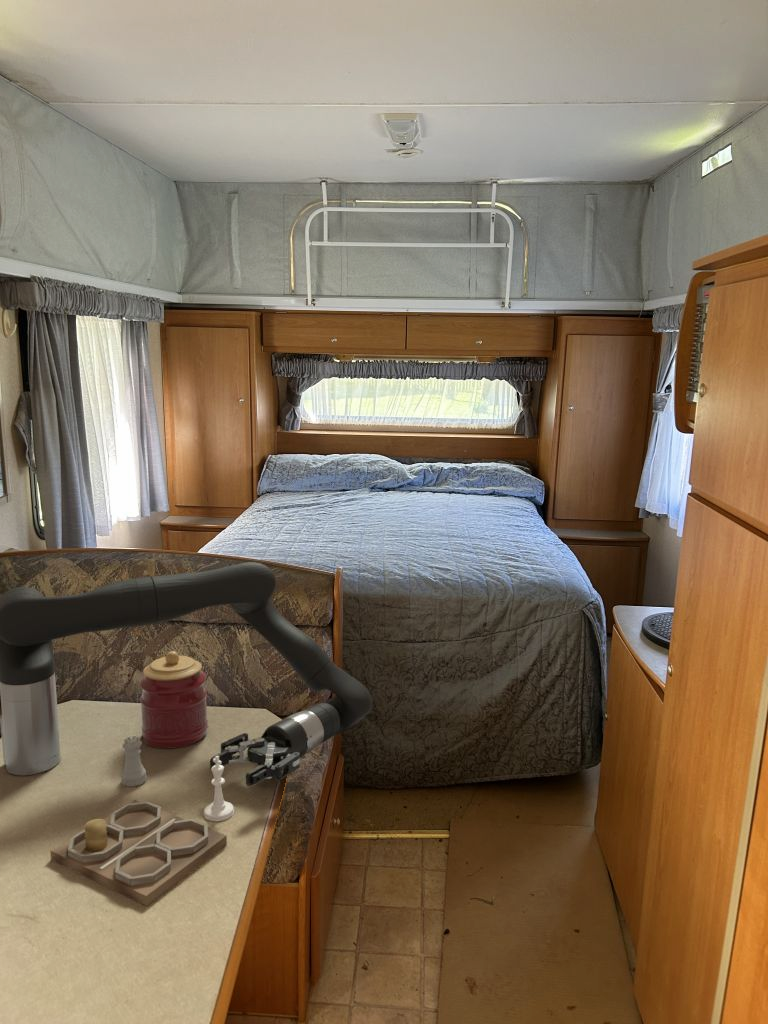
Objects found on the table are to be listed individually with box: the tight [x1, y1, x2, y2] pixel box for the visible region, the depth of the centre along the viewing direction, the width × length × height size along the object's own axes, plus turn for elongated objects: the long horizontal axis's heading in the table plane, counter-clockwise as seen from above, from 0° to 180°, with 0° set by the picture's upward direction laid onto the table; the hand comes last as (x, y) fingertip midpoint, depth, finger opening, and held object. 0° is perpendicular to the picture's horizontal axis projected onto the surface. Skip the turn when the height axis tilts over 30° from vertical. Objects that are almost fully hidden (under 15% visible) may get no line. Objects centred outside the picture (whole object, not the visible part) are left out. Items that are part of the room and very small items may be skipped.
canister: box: [139, 650, 209, 749], centre depth 149 cm, size 13×13×18 cm
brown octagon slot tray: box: [49, 799, 228, 907], centre depth 112 cm, size 20×16×5 cm
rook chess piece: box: [120, 735, 148, 788], centre depth 132 cm, size 4×4×8 cm
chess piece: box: [203, 755, 235, 822], centre depth 122 cm, size 5×5×10 cm
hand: (229, 772), depth 124 cm, fingers open, 8 cm apart
